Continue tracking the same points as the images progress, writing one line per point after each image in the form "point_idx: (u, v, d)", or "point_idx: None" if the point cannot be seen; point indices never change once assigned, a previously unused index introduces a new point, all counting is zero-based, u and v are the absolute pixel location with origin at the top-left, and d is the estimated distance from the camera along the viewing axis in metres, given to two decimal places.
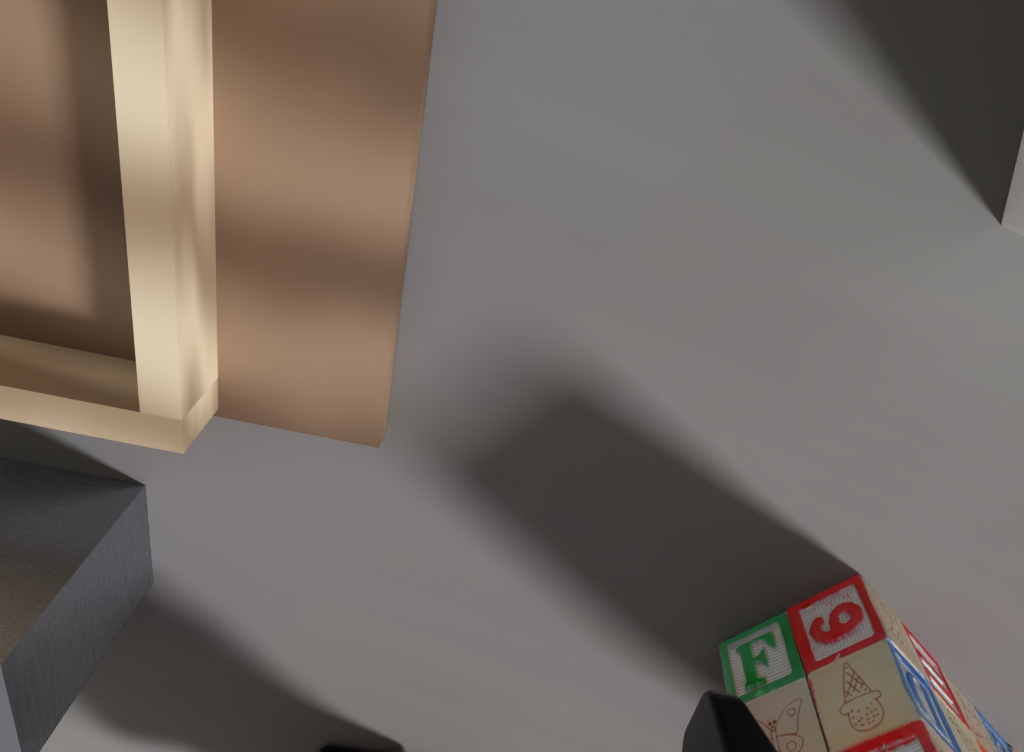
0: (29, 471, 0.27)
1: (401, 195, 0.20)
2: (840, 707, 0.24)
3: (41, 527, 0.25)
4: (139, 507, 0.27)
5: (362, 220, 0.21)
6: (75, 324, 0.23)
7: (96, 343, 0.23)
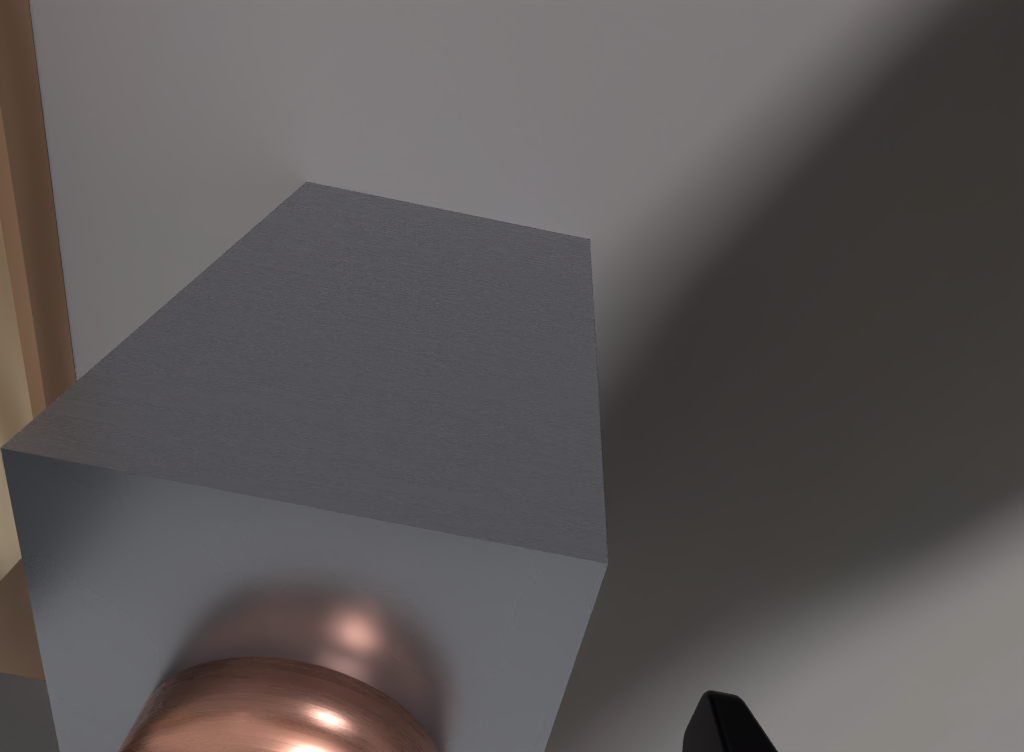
0: None
1: None
2: None
3: None
4: (334, 198, 0.12)
5: None
6: None
7: None
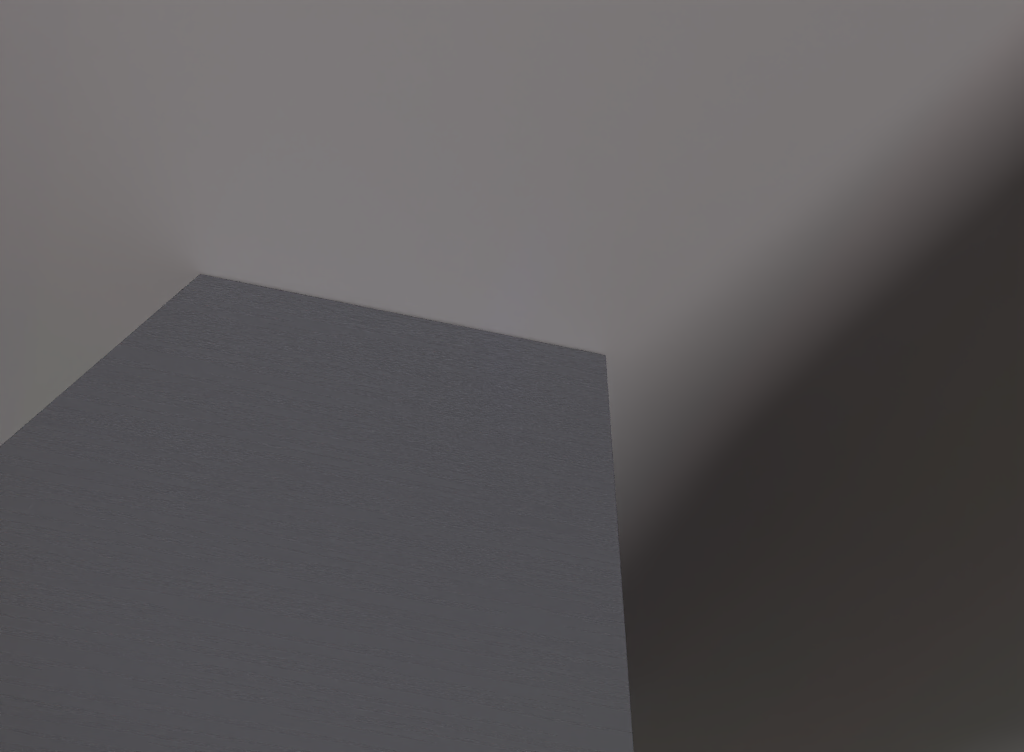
0: None
1: None
2: None
3: None
4: (234, 304, 0.09)
5: None
6: None
7: None
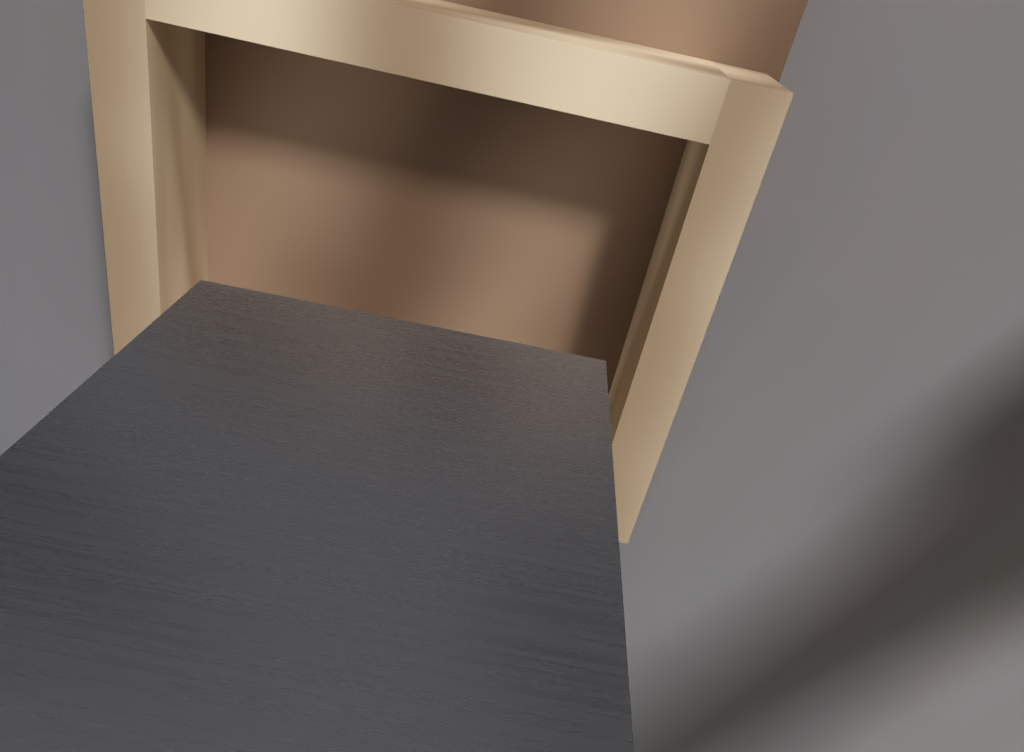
0: None
1: None
2: None
3: None
4: (234, 310, 0.09)
5: None
6: (616, 244, 0.18)
7: (644, 226, 0.18)
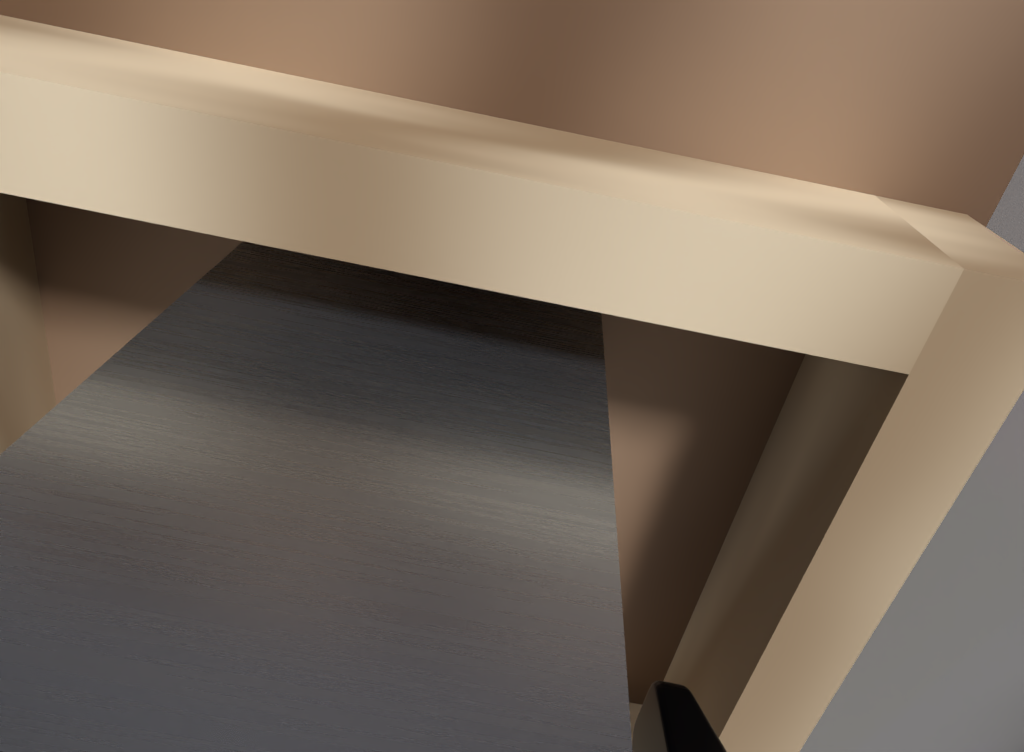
0: None
1: None
2: None
3: None
4: (278, 262, 0.10)
5: None
6: (697, 459, 0.12)
7: (744, 435, 0.11)
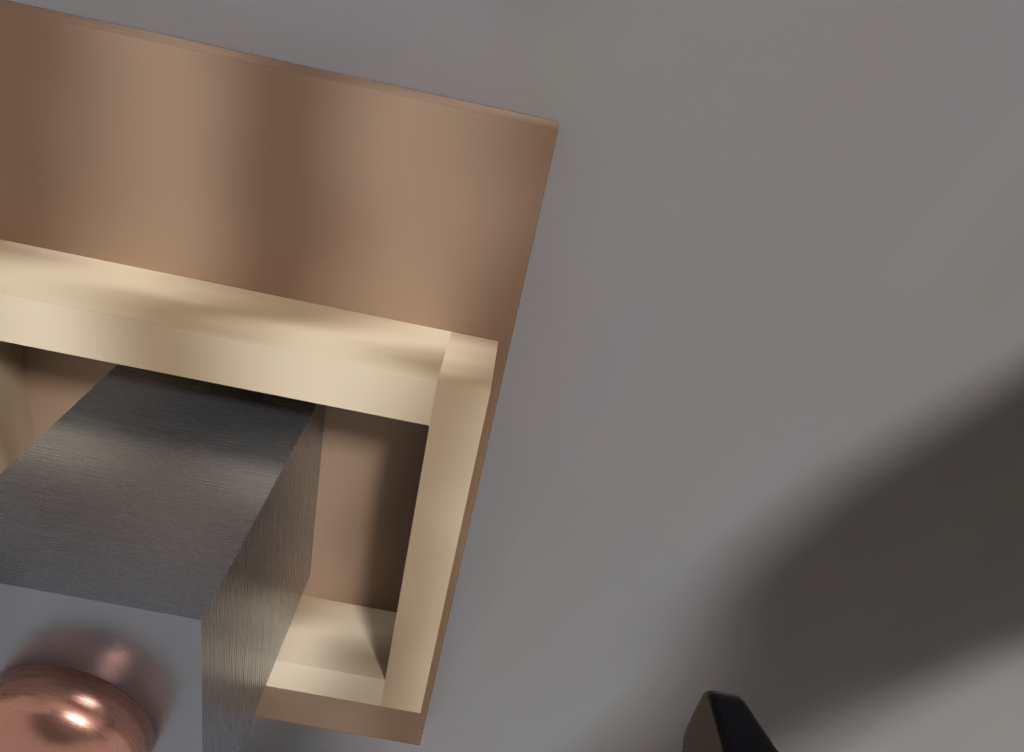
0: None
1: (165, 53, 0.16)
2: None
3: None
4: None
5: (209, 111, 0.16)
6: (394, 463, 0.21)
7: (416, 450, 0.21)
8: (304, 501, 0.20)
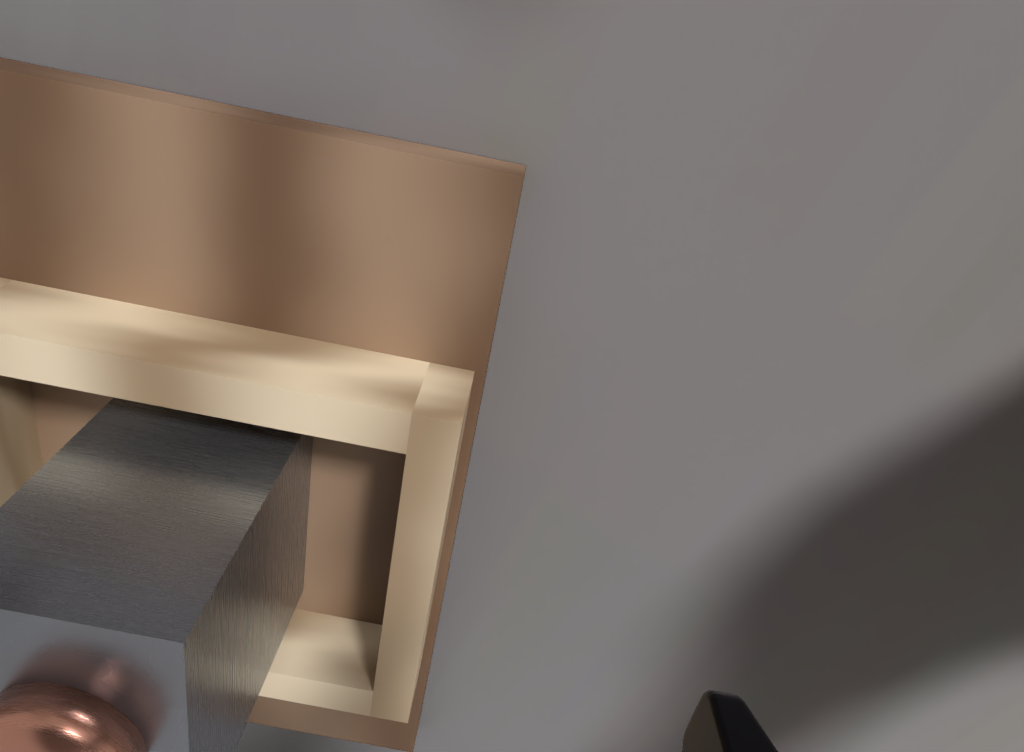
0: None
1: (155, 108, 0.17)
2: None
3: None
4: None
5: (197, 160, 0.18)
6: (380, 485, 0.22)
7: (400, 473, 0.22)
8: (293, 522, 0.21)
